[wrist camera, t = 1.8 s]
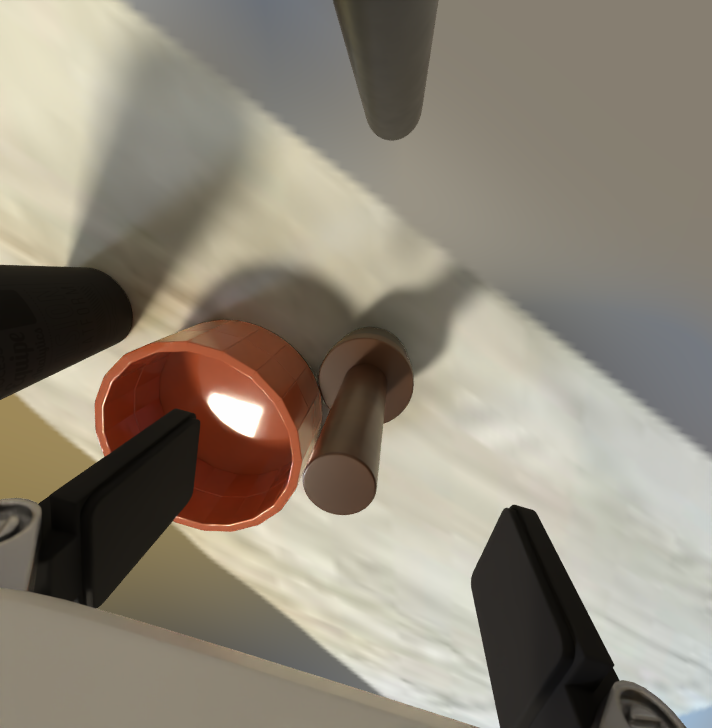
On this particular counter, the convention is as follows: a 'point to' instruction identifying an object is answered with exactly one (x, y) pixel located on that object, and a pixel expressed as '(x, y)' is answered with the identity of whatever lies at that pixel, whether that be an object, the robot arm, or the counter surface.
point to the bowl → (221, 415)
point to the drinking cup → (55, 320)
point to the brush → (356, 417)
